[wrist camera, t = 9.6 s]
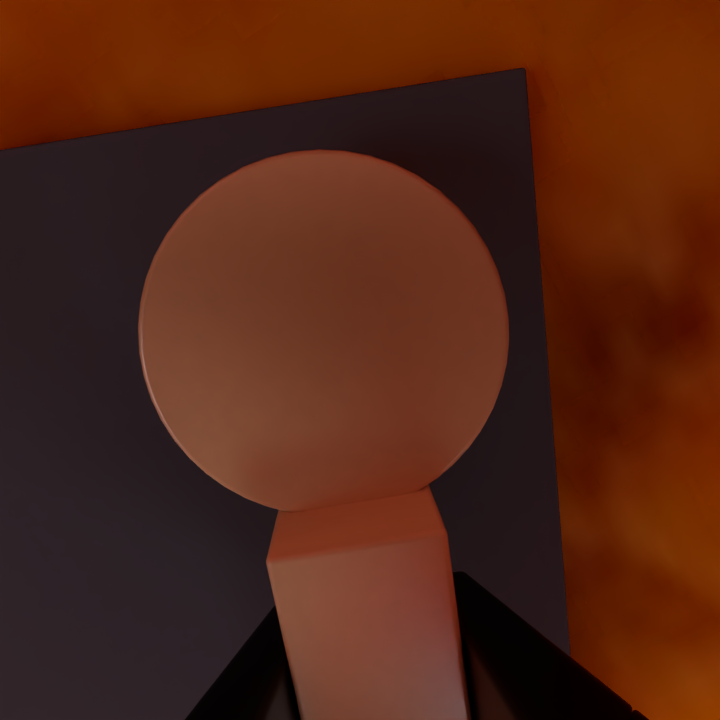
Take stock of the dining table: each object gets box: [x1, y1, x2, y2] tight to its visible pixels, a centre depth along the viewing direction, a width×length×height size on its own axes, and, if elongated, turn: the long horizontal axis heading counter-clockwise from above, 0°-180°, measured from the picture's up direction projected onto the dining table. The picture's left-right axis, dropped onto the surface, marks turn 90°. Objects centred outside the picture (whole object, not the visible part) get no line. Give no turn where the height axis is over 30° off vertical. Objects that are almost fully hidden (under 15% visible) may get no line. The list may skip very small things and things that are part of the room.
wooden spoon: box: [138, 149, 509, 720], centre depth 8 cm, size 14×5×3 cm, turn 9°
